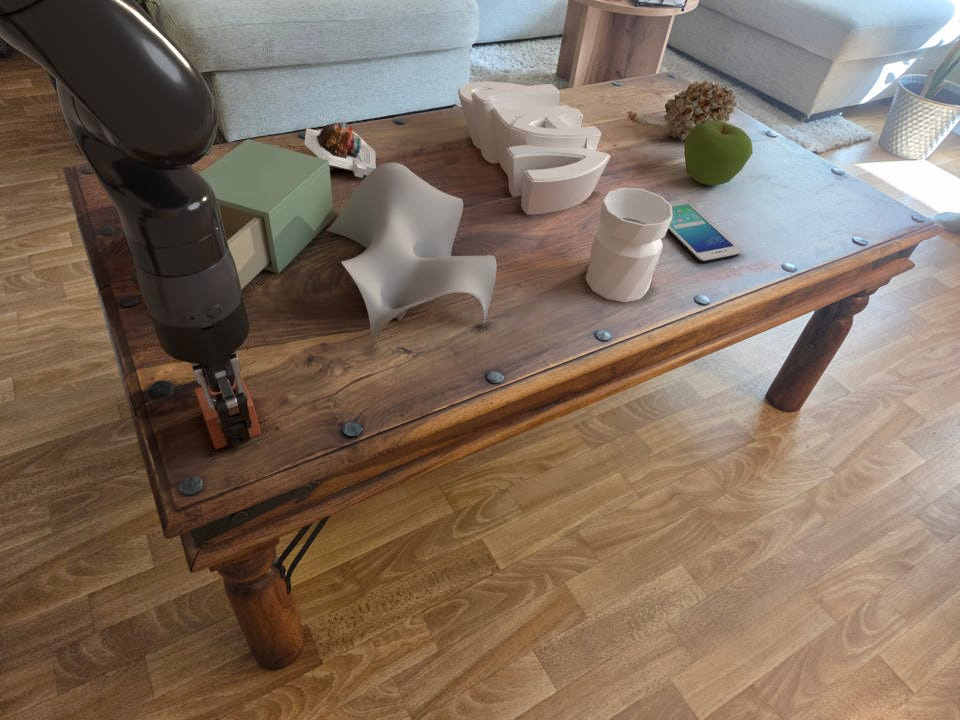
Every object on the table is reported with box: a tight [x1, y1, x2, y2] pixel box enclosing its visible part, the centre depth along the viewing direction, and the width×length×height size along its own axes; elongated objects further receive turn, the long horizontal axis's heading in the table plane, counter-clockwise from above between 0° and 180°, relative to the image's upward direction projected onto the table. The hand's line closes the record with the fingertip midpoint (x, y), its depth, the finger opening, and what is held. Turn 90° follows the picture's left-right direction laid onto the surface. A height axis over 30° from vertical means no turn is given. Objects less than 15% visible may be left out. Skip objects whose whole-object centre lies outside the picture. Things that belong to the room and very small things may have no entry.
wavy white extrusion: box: [457, 81, 612, 216], centre depth 106 cm, size 35×16×11 cm, turn 18°
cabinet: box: [198, 138, 335, 275], centre depth 88 cm, size 15×13×9 cm
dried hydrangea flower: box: [625, 80, 737, 142], centre depth 119 cm, size 22×10×10 cm, turn 115°
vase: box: [585, 187, 673, 303], centre depth 85 cm, size 9×9×12 cm
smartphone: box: [666, 198, 741, 264], centre depth 100 cm, size 8×1×15 cm
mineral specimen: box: [304, 121, 377, 179], centre depth 104 cm, size 12×12×7 cm
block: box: [194, 374, 261, 450], centre depth 66 cm, size 4×4×4 cm
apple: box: [683, 121, 754, 187], centre depth 108 cm, size 11×10×10 cm
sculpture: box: [325, 162, 498, 350], centre depth 84 cm, size 25×19×10 cm
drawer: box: [131, 204, 271, 291], centre depth 80 cm, size 18×11×7 cm, turn 160°
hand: (231, 424), depth 67 cm, fingers closed on block, 4 cm apart
